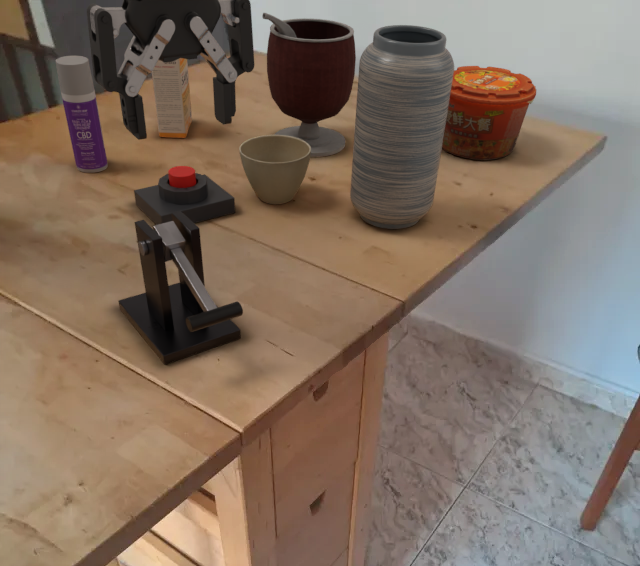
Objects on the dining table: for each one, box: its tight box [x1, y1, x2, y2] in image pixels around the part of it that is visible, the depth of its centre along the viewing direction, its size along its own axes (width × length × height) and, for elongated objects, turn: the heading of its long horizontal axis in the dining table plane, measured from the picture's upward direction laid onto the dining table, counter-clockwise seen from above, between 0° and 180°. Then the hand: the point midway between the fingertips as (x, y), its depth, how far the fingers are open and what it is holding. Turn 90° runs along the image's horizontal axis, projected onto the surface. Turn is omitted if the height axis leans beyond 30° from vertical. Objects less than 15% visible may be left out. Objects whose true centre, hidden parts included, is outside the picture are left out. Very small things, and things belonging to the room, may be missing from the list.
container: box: [55, 55, 109, 174], centre depth 101 cm, size 5×5×15 cm
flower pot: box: [238, 134, 311, 205], centre depth 98 cm, size 10×10×7 cm
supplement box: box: [151, 58, 193, 139], centre depth 114 cm, size 8×5×13 cm, turn 0°
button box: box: [133, 172, 236, 225], centre depth 95 cm, size 11×9×4 cm
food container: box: [442, 65, 537, 161], centre depth 114 cm, size 16×16×11 cm
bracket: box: [117, 211, 242, 365], centre depth 72 cm, size 12×9×12 cm
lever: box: [152, 221, 244, 332], centre depth 68 cm, size 12×6×2 cm, turn 34°
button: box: [167, 165, 196, 188], centre depth 93 cm, size 4×4×2 cm
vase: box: [349, 24, 455, 230], centre depth 90 cm, size 12×12×23 cm
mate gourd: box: [262, 12, 357, 158], centre depth 109 cm, size 16×14×20 cm
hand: (182, 128), depth 64 cm, fingers open, 8 cm apart
